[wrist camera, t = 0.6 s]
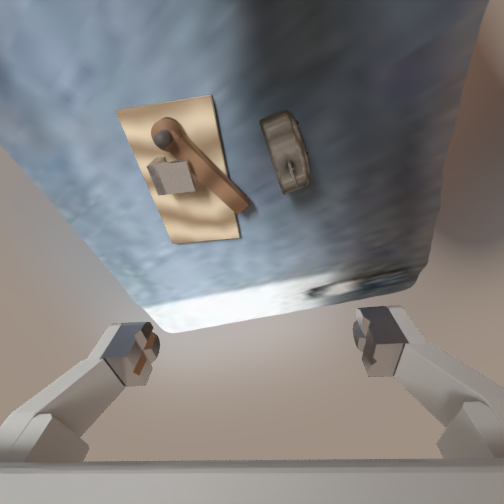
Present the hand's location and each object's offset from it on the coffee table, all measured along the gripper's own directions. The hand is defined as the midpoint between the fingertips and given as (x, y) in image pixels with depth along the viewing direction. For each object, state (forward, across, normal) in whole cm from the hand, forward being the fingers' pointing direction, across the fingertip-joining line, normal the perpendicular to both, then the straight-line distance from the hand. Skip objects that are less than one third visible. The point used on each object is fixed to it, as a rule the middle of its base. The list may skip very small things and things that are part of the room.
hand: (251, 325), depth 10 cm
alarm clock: (+38, -4, -1) cm, 38 cm away
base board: (+38, +14, +4) cm, 41 cm away
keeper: (+37, +14, +1) cm, 40 cm away
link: (+36, +9, +1) cm, 38 cm away
